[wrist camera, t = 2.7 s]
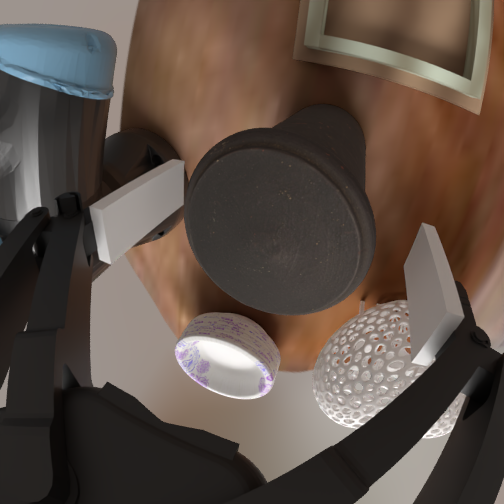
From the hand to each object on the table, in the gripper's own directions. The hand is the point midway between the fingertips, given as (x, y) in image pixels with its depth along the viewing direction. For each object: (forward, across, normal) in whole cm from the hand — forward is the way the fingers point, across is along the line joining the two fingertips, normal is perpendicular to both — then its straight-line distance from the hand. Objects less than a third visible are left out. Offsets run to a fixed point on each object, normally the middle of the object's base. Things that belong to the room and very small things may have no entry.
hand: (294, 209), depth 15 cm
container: (+16, 0, 0) cm, 16 cm away
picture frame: (+16, +5, +17) cm, 24 cm away
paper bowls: (+16, -6, -31) cm, 35 cm away
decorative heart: (+16, +14, -17) cm, 27 cm away
